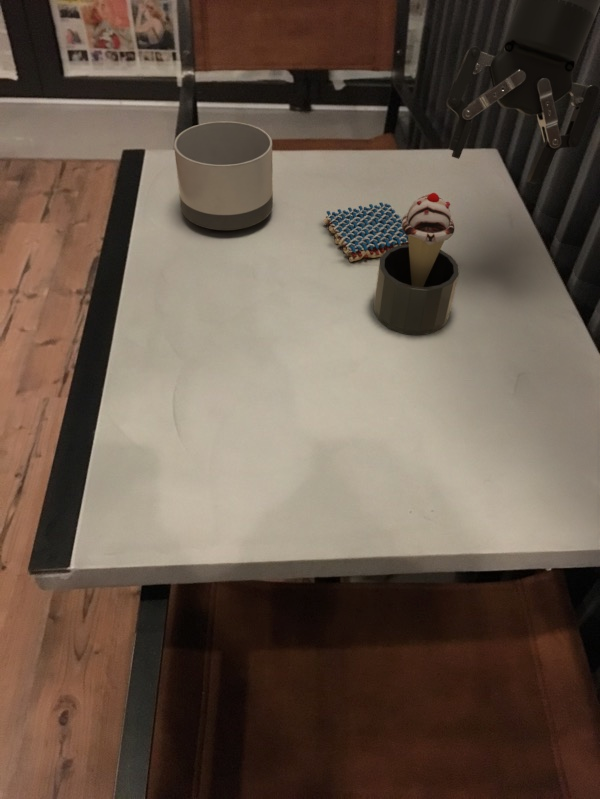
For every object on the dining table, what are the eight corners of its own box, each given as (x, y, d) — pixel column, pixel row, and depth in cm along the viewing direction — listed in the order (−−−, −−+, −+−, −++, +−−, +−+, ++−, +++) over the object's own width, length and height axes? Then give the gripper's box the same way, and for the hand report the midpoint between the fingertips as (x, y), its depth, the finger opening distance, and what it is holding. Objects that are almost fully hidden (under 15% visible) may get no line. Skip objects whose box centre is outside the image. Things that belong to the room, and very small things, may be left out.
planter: (183, 241, 92) (175, 168, 84) (180, 193, 101) (172, 123, 93) (278, 235, 93) (278, 163, 86) (267, 188, 102) (266, 119, 95)
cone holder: (458, 302, 84) (469, 258, 79) (432, 344, 78) (442, 299, 74) (391, 280, 87) (398, 236, 82) (361, 318, 81) (366, 273, 77)
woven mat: (349, 265, 89) (350, 252, 87) (321, 223, 96) (321, 210, 94) (421, 252, 91) (424, 239, 90) (389, 212, 98) (390, 199, 97)
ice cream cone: (404, 326, 80) (424, 211, 69) (380, 298, 83) (396, 184, 72) (446, 314, 81) (471, 200, 71) (421, 287, 85) (442, 175, 74)
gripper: (495, -27, 63) (432, 151, 70) (640, 21, 64) (564, 194, 70) (484, -12, 70) (427, 148, 77) (615, 31, 70) (548, 187, 77)
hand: (493, 170), depth 73 cm, fingers open, 8 cm apart
